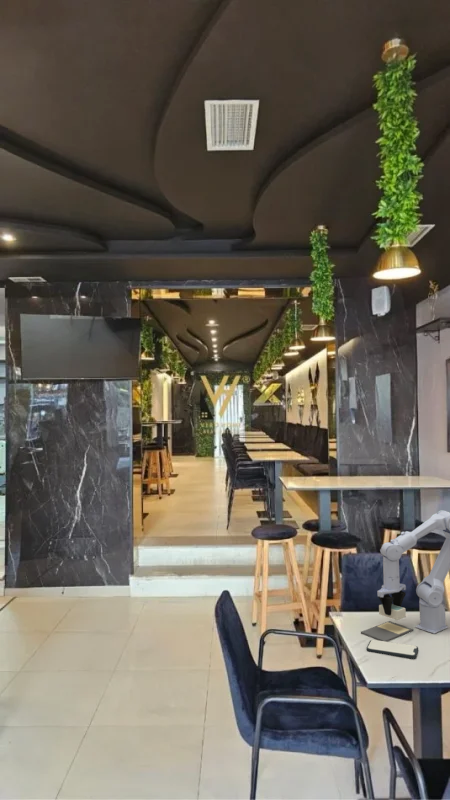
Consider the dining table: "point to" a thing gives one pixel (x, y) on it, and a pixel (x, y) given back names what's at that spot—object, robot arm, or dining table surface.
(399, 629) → the mat
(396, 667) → the dining table surface
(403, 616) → the card box
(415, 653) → the phone case
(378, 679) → the dining table surface
